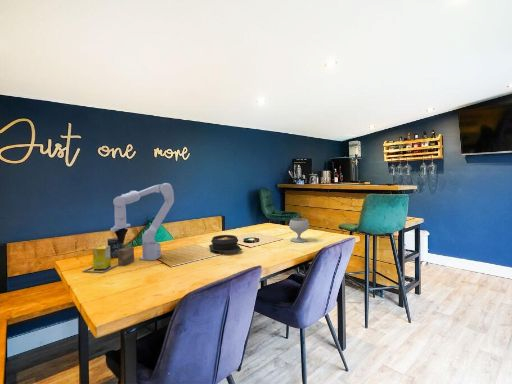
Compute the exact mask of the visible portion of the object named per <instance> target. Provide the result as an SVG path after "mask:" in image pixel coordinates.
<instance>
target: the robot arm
mask: <svg viewBox="0 0 512 384" xmlns="http://www.w3.org/2000/svg"><path fill="white" fill-rule="evenodd" d="M173 188H174V187H173V186H172V184H171V183H168V182H164V183H161V184H155V185H153V186H150V187H147V188H145V189H142V190H139V191H138V190H130V191H129V192H127V193H122V194H121V195H120V196H119V195H117V196H116V197H114V199H113V200H112V201H113V203H112V204H113V205H114V225H113V227H111V228H110V233H114V234H115V236H116V238H118V241H119V243H123V242H125V237H126V234H127V233H128V231H129V229H128V228H131V223H127V209H126V206H127V205H130V204H132V203H135V202H138V201H140V199H141V197H144V196H147V195H150V194H153V193H157V194H160V193H161V194H162V196H163V198H164V199H163V200H164V202H163V204H162V205H161V207H160V209H159V211H158V213H157V214H156V215H155V217H154V220H152V223H151V224H150V225H149V228H148V229H146V230H144V232H143V234H142V236H141V241H142V242H141V245H142V246H141V247H142V248H141V249H142V257H140V258H139V260H140V261H141V260H144V261H148V260H149V261H150V260H151V261H156V260H158V259H159V258H161V257H162V245H161V243H160V242H157V241H156V240H155V237H156V233H157V232H158V229H159V227H161V224H162V223H163V222H164V220H165V218H166V216H167V215H168V213H169V212H170V209H171V207H172V206H173V204H174V203H175V194H174V189H173Z"/></svg>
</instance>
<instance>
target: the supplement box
mask: <svg viewBox="0 0 512 384" xmlns="http://www.w3.org/2000/svg"><path fill="white" fill-rule="evenodd" d="M92 259H93V260H92V261H93V265H92V267H93V266H94V268H93V271H105V270H107V269H109V268H112V267H111V266H112V264H111V261H112V258H111V259H110V246H108V245H97V246H95V247H94V248H92Z"/></svg>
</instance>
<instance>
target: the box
mask: <svg viewBox="0 0 512 384" xmlns="http://www.w3.org/2000/svg"><path fill="white" fill-rule="evenodd" d="M106 240H107V246H111V259H115V258H118V250H120V249H122V248H125V246H124V245H125V244H124V242H125V241H124V242H123V243H119V241H118V238H117V237H113V238H111V237H110V238H107V239H106Z"/></svg>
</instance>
